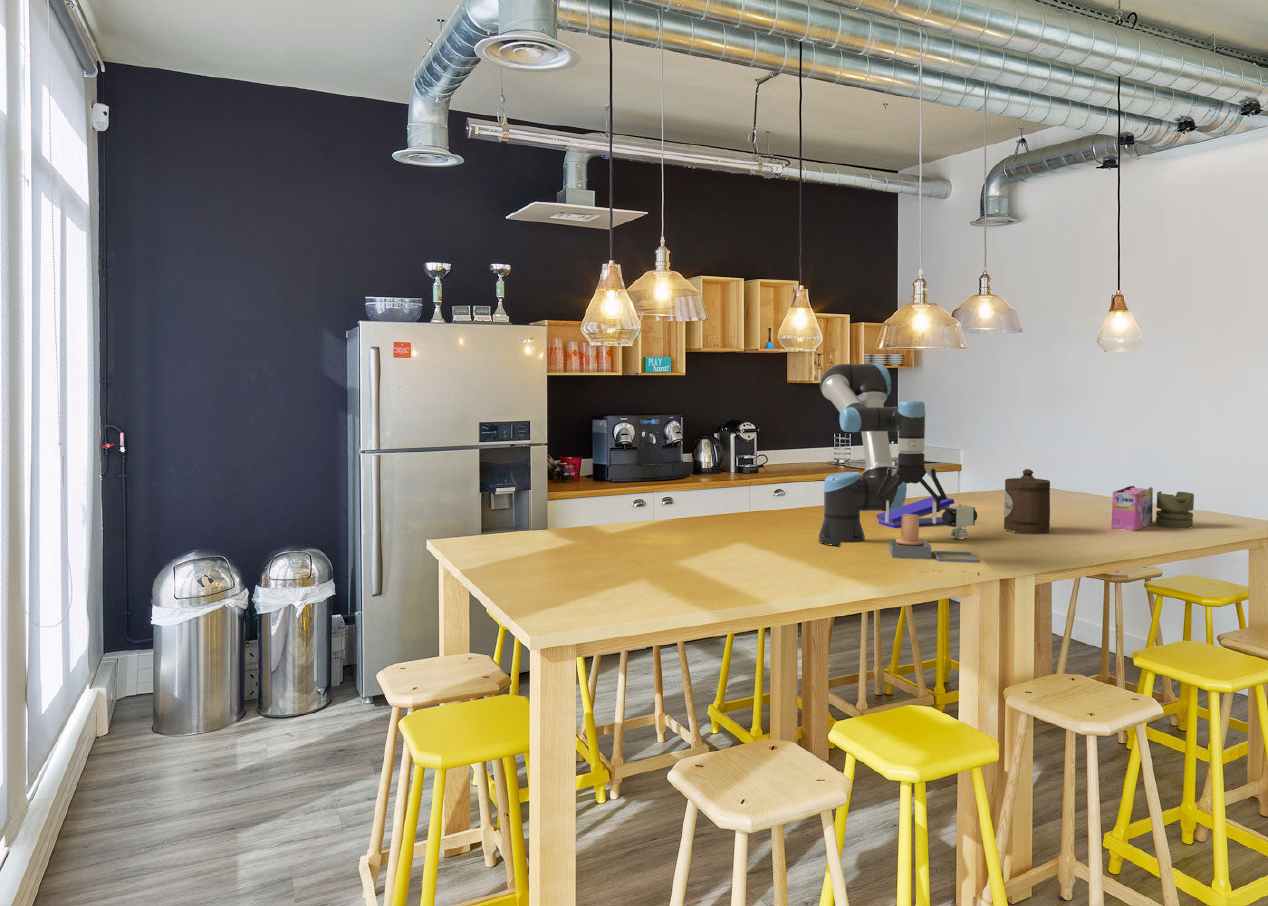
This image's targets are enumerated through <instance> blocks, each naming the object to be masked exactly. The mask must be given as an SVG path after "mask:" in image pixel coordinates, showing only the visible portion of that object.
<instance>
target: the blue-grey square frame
mask: <svg viewBox="0 0 1268 906" xmlns="http://www.w3.org/2000/svg"><path fill="white" fill-rule="evenodd" d="M932 555H933V557H935V560H937V562H947V563H948V562H949V563H950V562H951V563H952V562H953V563H956V562H957V563H979V559H978V558H977V557H976V555H975V554H973V552H972V551H952V550H950V551H948V550H947V551H946V550H932ZM938 555H949V556H950V555H954V556H957V555H959V556H970V557H971V558H951V557H950V558H949V557H948V558H947V557H946V558H944V557H943V558H942V557H939V556H938Z"/></svg>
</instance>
